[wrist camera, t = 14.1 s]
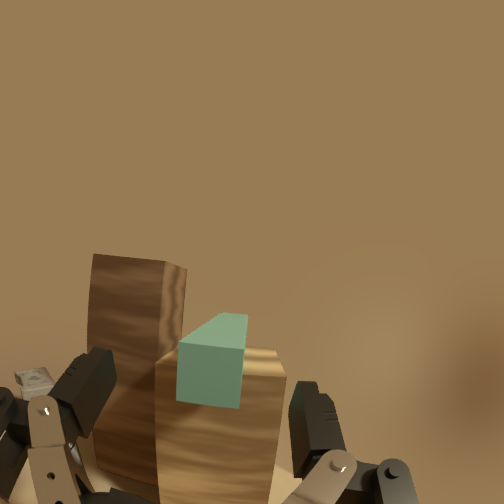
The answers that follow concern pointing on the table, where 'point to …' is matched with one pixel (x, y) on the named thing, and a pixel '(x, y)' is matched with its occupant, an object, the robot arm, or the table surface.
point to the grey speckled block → (34, 382)
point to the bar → (213, 362)
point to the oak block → (219, 436)
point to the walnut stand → (133, 354)
